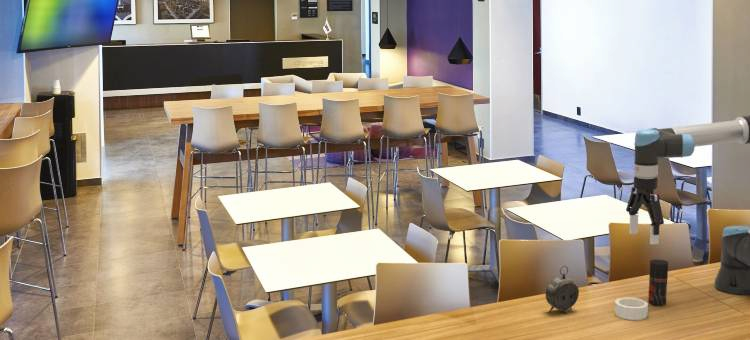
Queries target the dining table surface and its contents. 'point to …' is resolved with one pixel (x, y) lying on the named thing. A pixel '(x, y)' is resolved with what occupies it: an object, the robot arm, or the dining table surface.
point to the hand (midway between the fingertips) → (643, 238)
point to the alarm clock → (562, 292)
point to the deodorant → (658, 282)
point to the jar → (631, 308)
